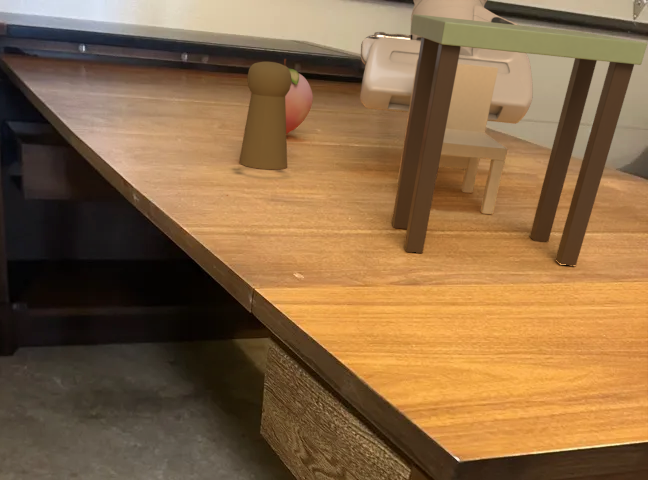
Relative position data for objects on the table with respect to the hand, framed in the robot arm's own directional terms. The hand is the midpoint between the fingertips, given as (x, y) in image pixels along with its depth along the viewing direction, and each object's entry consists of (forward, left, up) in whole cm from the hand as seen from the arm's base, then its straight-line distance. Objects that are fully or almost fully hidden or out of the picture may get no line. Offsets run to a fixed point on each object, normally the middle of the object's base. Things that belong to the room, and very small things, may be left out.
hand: (444, 142), depth 96 cm
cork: (+21, -4, -5) cm, 22 cm away
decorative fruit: (+19, -26, -5) cm, 33 cm away
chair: (0, +7, -5) cm, 8 cm away
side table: (0, +24, -5) cm, 24 cm away
